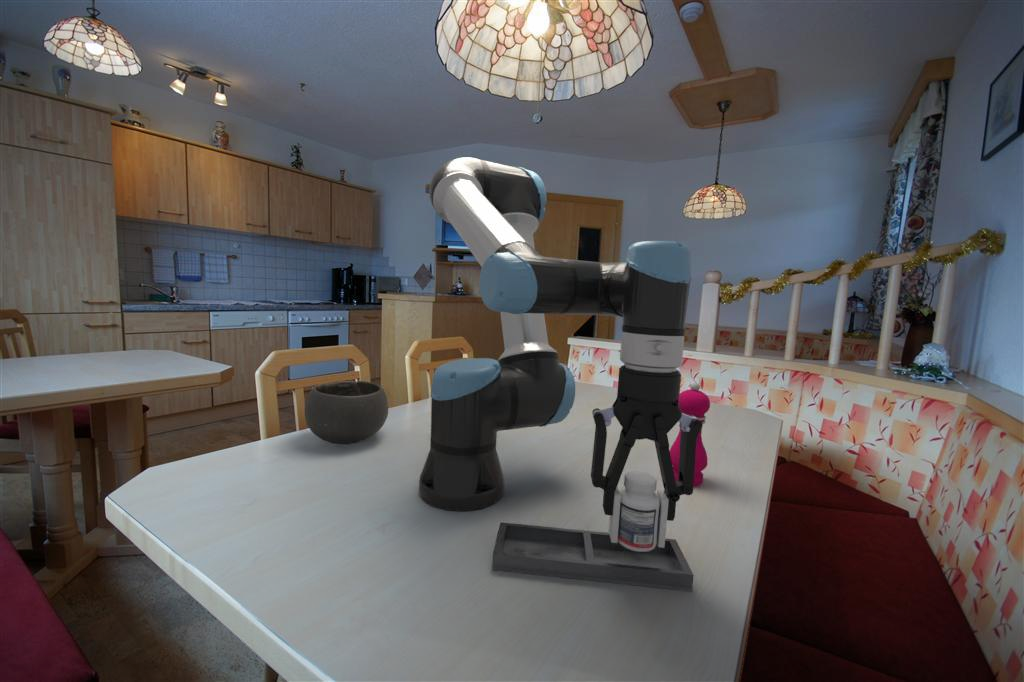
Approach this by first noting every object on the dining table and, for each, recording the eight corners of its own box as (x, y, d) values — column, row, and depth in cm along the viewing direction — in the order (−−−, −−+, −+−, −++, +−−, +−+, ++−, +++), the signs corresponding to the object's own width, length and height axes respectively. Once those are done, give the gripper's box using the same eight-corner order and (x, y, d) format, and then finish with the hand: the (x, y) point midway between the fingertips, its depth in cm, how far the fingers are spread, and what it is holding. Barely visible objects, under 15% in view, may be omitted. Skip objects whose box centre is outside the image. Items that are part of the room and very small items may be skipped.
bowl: (349, 423, 109) (349, 375, 108) (404, 436, 101) (405, 385, 100) (286, 444, 93) (285, 388, 92) (345, 461, 85) (345, 400, 84)
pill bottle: (625, 525, 59) (630, 465, 59) (662, 540, 56) (668, 477, 55) (608, 541, 55) (613, 477, 54) (647, 558, 52) (652, 490, 51)
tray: (492, 569, 54) (492, 553, 54) (499, 536, 62) (500, 522, 62) (691, 591, 52) (693, 575, 52) (674, 554, 60) (675, 539, 59)
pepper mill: (709, 490, 80) (720, 387, 78) (669, 485, 82) (679, 384, 80) (700, 474, 87) (710, 380, 85) (664, 470, 89) (672, 377, 87)
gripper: (579, 367, 50) (567, 549, 53) (738, 376, 49) (718, 564, 51) (575, 358, 58) (565, 518, 60) (713, 366, 56) (697, 530, 59)
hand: (635, 538), depth 56 cm, fingers closed on pill bottle, 5 cm apart
